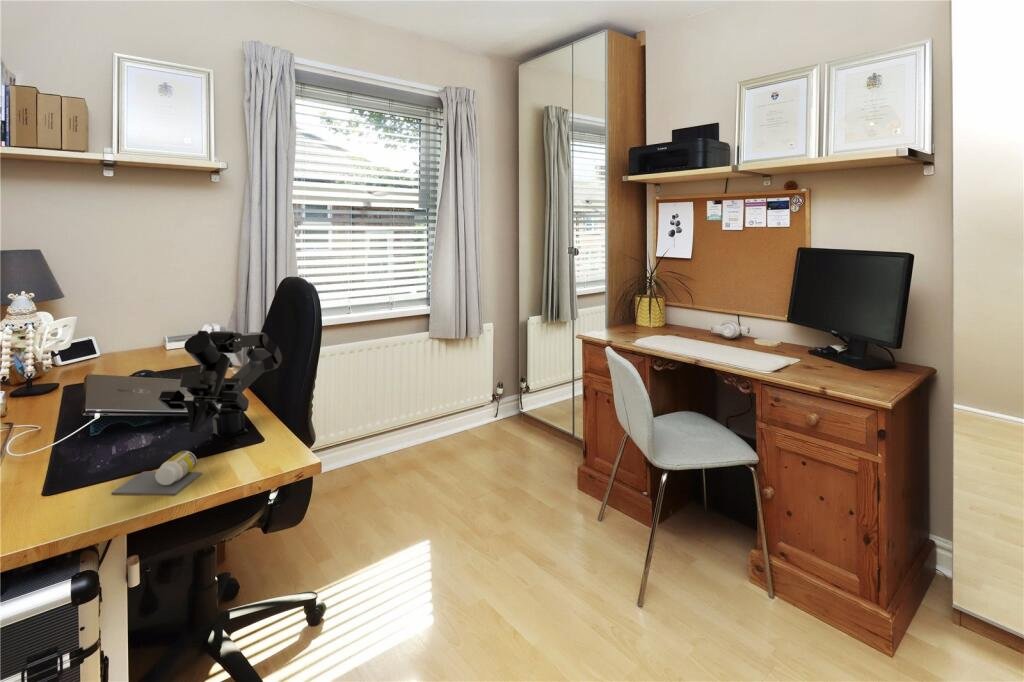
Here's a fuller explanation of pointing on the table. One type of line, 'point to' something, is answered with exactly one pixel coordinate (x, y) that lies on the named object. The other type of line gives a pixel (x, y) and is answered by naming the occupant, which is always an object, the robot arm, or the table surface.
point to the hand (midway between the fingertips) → (192, 432)
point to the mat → (154, 484)
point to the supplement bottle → (175, 468)
